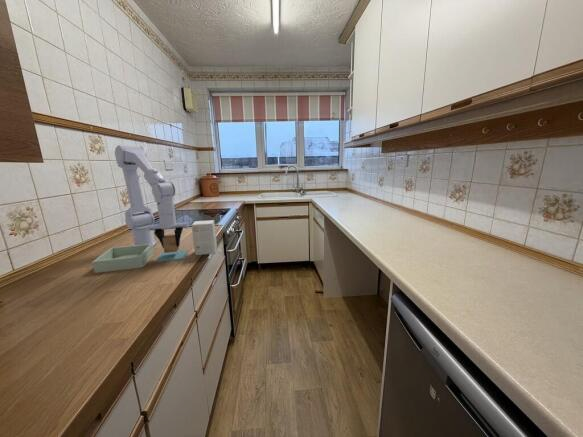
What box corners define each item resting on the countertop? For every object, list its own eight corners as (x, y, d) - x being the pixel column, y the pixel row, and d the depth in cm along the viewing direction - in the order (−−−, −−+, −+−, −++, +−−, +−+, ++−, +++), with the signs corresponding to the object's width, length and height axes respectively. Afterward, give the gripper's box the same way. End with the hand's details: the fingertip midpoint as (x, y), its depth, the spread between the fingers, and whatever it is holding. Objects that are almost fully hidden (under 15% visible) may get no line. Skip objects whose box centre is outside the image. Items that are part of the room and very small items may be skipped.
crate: (113, 258, 99) (111, 247, 98) (154, 253, 102) (152, 243, 101) (94, 273, 85) (92, 261, 84) (142, 268, 88) (140, 256, 87)
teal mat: (162, 253, 102) (161, 252, 102) (187, 250, 104) (187, 249, 104) (155, 262, 92) (155, 261, 92) (183, 259, 95) (183, 258, 95)
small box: (217, 248, 106) (214, 219, 103) (215, 253, 100) (212, 223, 97) (198, 250, 105) (194, 220, 102) (194, 255, 99) (191, 224, 96)
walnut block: (167, 249, 99) (165, 235, 98) (178, 247, 100) (177, 234, 99) (164, 252, 95) (162, 238, 94) (176, 251, 96) (174, 237, 95)
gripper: (142, 216, 89) (148, 251, 92) (185, 214, 92) (189, 247, 95) (148, 213, 95) (153, 245, 98) (187, 210, 99) (191, 242, 102)
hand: (171, 246), depth 97 cm, fingers closed on walnut block, 4 cm apart
